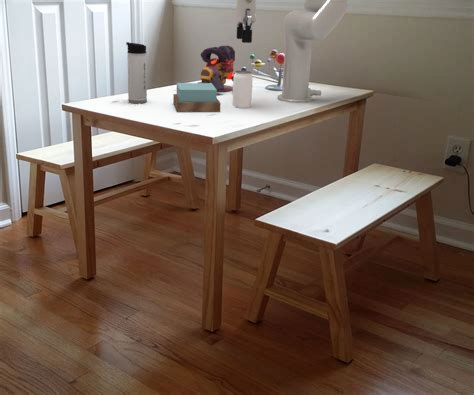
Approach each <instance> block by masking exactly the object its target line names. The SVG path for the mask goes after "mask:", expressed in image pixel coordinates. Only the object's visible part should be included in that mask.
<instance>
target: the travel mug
mask: <svg viewBox="0 0 474 395" xmlns="http://www.w3.org/2000/svg"><path fill="white" fill-rule="evenodd" d="M125 43H126V44H125V45H126V46H127V92H128V93H127V94H128V96H127V98H128V102H129V103H130V104H137V105H138V104H139V105H140V104H146V103H147V102H148V99H147V97H148V94H147V90H148V88H147V87H148V86H147V85H148V84H147V82H148V81H147V79H148V78H147V75H148V74H147V45H145V44H143V43H135V42H130V41H129V42H127V41H126V42H125Z"/></svg>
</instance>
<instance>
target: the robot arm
mask: <svg viewBox="0 0 474 395" xmlns="http://www.w3.org/2000/svg"><path fill="white" fill-rule="evenodd" d="M256 1H257V0H236V10H235V11H236V12H235V13H236V20H237V24H236V26H237V27H236V39H237V40H241V43H244V44H247V43H249V44H251V43H253V24H255V23H256V21H257V20H256V19H257V18H256V15H257V14H256V13H257V12H256V11H257V10H256V8H257V7H256V5H257V4H256ZM348 2H349V1H348V0H305V1H304V3H303V6H304V10H303V9H302V10H301V9H295V10H291V11H290V12H288V14H286V16H285V18H284V20H283V34H284V56H283V71H282V85H281V88H282V89H281V93H280V94H278V95H277V97H276V98H277V100H278V101H280V102H285V103H290V104H291V103H292V104H294V103H295V104H304V103H305V104H306V103H311V102H312V101H313V98H312V97H313V96H315V97H319V96H321V95H322V91H321V90H316V89H311V88H310V87H309V86H310V74H311V73H310V72H311V61H312V47H311V43H310V42H311V41H313V42H320V41H321V42H322V41H323V40H324V39H326V38H327V37H328V36H329V35H330V34H331V33H332V31H333V30H334V29H335V28H336V26H337V25H338V24H339V22H340V21H341V20H342V19H343V17H344V15H345V14H346V12H347V8H348V4H349V3H348Z"/></svg>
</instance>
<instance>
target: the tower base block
mask: <svg viewBox="0 0 474 395" xmlns="http://www.w3.org/2000/svg"><path fill="white" fill-rule="evenodd" d="M172 104H173V106H174V108H175V110H176V113H221V102H220V100H219V99H218V98H217V100H216V102H179V99H178V97H177V93H173V103H172Z"/></svg>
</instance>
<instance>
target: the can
mask: <svg viewBox="0 0 474 395" xmlns="http://www.w3.org/2000/svg"><path fill="white" fill-rule="evenodd" d="M234 73H235V74H234ZM234 73H233V75H234V78H233V81H232V83H233V84H232V106H234V107H235V108H237V109H249V108H251V107H252V99H253V98H252V97H253V82H254V81H253V78H254V77H253V74H252V71H250V70H234Z"/></svg>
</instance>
